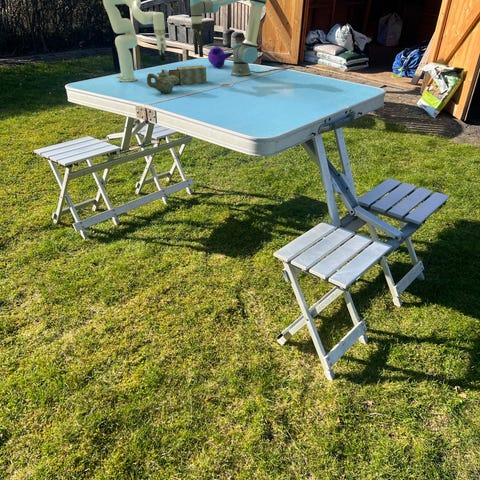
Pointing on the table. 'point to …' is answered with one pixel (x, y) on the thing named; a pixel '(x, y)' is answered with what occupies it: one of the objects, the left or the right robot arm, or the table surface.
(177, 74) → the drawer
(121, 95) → the table surface
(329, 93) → the table surface
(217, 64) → the toy
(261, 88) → the table surface
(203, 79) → the cabinet
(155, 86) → the teapot
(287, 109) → the table surface
